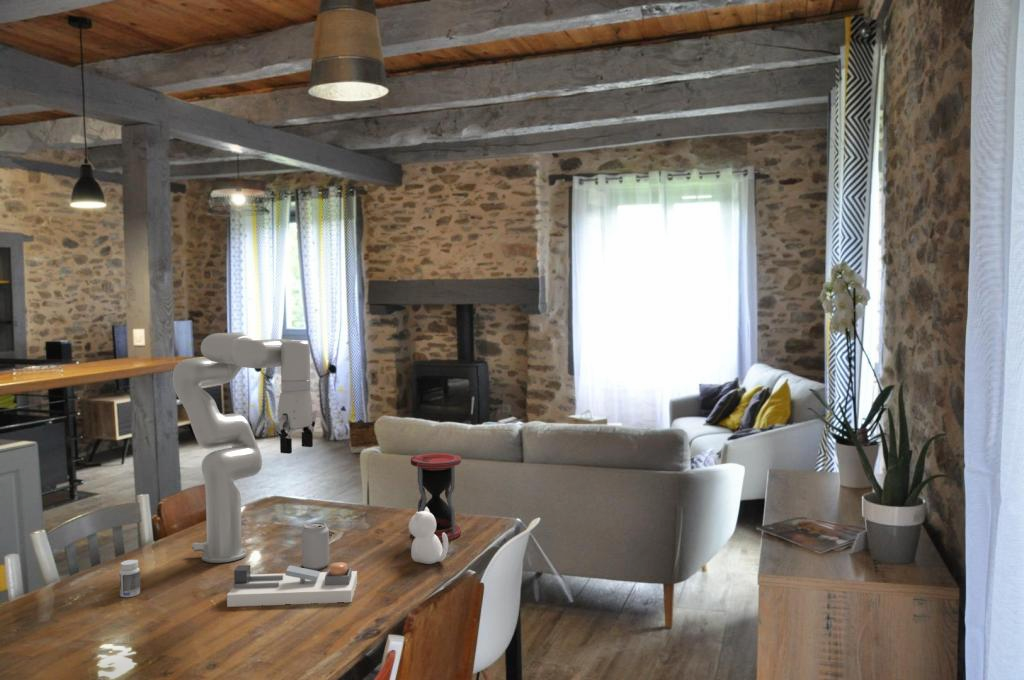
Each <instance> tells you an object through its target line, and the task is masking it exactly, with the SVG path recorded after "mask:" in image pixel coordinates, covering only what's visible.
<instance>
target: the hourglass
mask: <svg viewBox="0 0 1024 680" xmlns="http://www.w3.org/2000/svg"><path fill="white" fill-rule="evenodd" d="M461 462H462V458H461V456H459V455H457V454H453V453H442V452H441V453H438V452H437V453H436V452H435V453H423V454H418V455H414V456H412V457H411V458H410V465H412V466H413V467H416V468H417V485H418V491H419V494H420V499H419V500H418V502H417V512H421V511H424V510H425V508H426V507H427V508H428V509H429V511H430V513H432V514H433V516H434V517H435V520H436V530H435V532H434V533H433V534H435V535H436V536H437V537H438V538H439V540H440V542H443V539H442V533H445V534H446V535H447V538H448V541H451V540H454V539H453V538H455V539H456V537H457V538H458V536H459V535H461V534H462V528H461V526H460V525H458V524H456V520H455V519H456V510H455V507H454V505H453V501H452V494H453V493H454V491H455V487H456V486H455V485H456V481H455V478H456V477H455V473H456V472H455V471H456V468H455V467H456V466H459V465H460V464H461ZM426 491H427V492H428V493H429V494H430V495H431V498H430V499H429V500H428V499H427V494H426ZM443 492H444V494H445V495H444V496H445V498H446V501H444V499H443V498H441V494H442V493H443ZM427 500H428V501H427ZM446 502H447V503H446ZM460 533H461V534H460ZM410 535H411V537H412V536H413V535H412V534H411V533H410ZM413 537H414V536H413ZM413 537H412V538H413ZM459 537H460V536H459ZM415 538H416V537H414V538H413V539H415ZM450 539H451V540H450Z"/></svg>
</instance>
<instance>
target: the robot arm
mask: <svg viewBox="0 0 1024 680" xmlns="http://www.w3.org/2000/svg"><path fill="white" fill-rule="evenodd" d="M200 344H201V345H200V352H201V355H203V357H194V358H189V359H184V360H182V361H179V362H178V363H177V364H176V365H175V367H174V368H173V372H172V385H173V390H174V392H175V393H176V396H177V397H178V399H179V401H180V403H181V404H182V406H183V407H184V409H185V412H186V415H187V417H188V421H189V422H190V426H191V428H192V431H193V434H194V436H195V440H196V441H197V443H198V445H199V446H200V447H201V448H202V449H205V450H206V449H207V450H209V449H210V450H211V449H217V448H222V449H218V450H214V451H211V452H209V453H208V454H207V455H205V456H204V458H203V459H202V462H201V472H202V473H201V474H202V477H203V482H204V489H205V507H206V509H205V510H206V513H205V514H206V515H205V516H206V517H205V518H206V541H204V542H195V543H194V542H192V546H191V547H192V549H191V550H193V552H202V553H201V556H200V557H201V560H202V562H206V563H212V564H223V563H231V562H234V561H239V560H241V559H243V558H245V557H246V556H247V555H248V549H247V548H245V547H243V546H242V502H241V501H242V499H241V494H240V491H239V489H238V488H237V485H235V483H234V481H237V480H241V479H246V478H251V477H253V476H255V475H257V474H258V473H259V472H260V471H261V470H262V466H263V459H262V454H261V451H260V449H259V445H258V443H257V441H256V437H255V435H254V432H253V430H252V427H251V425H250V423H249V421H248V420H247V419H246V418H245V416H243V415H241V414H240V413H227V414H222V413H221V412H220V409H218V406H217V403H216V401H215V399H214V398H213V397H212V396H211V394H210V393H209V392H207V391H206V390H205V389H203V388H202V387H205V386H206V387H207V386H216V385H225V384H228V383H230V382H231V381H233V380H234V378H236V376H237V375H238V374H239V372H240V371H241V369H243V368H249V369H263V368H265V369H266V368H279V367H280V379H281V380H280V382H281V384H280V386H281V387H280V388H281V389H280V390H281V392H280V394H279V398H278V399H279V400H278V406H277V421H276V422H275V424H274V426H275V430H276V433H277V435H278V438H279V443H280V444H279V445H280V446H279V448H280V450H279V451H280V454H289V455H290V454H292V452H293V449H292V448H293V446H292V444H293V443H292V441H293V440H292V439H293V438H292V437H291V436H292V434H293V431H297V430H302V431H301V447H302V448H312V447H313V446H314V443H313V442H314V438H313V437H314V434H313V433H314V431H315V429H314V428H315V426H316V419H317V414H316V413H314V412H313V403H312V402H313V401H312V395H311V394H312V393H311V352H310V351H311V350H310V349H311V348H310V347H311V346H310V344H309V342H308V341H306V340H291V339H287V338H286V339H285V338H280V339H279V338H278V339H275V338H274V339H272V338H271V339H257V340H255V339H253V338H252V337H250V336H249V335H247V334H245V333H242V332H217V333H212V334H208V335H207V336H206V337H205V338H204V339H203V340H202V342H201V343H200ZM229 446H231V447H229ZM223 447H228V448H223Z"/></svg>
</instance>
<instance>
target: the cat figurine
mask: <svg viewBox="0 0 1024 680" xmlns="http://www.w3.org/2000/svg"><path fill="white" fill-rule="evenodd" d="M408 530H409V533H410V535H411V534H412V535H413V536H414V537H416V538H413V541H412V544H411V548H410V550H411V552H410V555H411V559H412V560H413V561H414V562H416V563H422V564H427V565H433V564H436V563H437V562H442V561H443V560H444V559H445V558H446V556H447V555H448V550H449V540H448V538H447V535H446V534H445V533H442V539H443V541H440V540H439V538H438V537H437V536H436V535H435V534H433V533H434V532H435V530H436V520H435V517H434V516H433V514H432V513H430V511H429V509H428V508H427V507H426V508H425V510H424V511H421V512H418V511H416V512H415V514H414V515H413V516H412V517H411V518H410V520H409V522H408ZM441 542H443V543H441ZM442 544H443V545H442Z"/></svg>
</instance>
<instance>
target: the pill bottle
mask: <svg viewBox="0 0 1024 680" xmlns="http://www.w3.org/2000/svg"><path fill="white" fill-rule="evenodd" d="M118 573H119V575H118V576H119V596H120V597H121V598H132V597H135V596H138V595H139V594H140V593H141V569H140V568H139V560H138V559H128V560H124V561H122V562H120V570H119V572H118Z"/></svg>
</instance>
